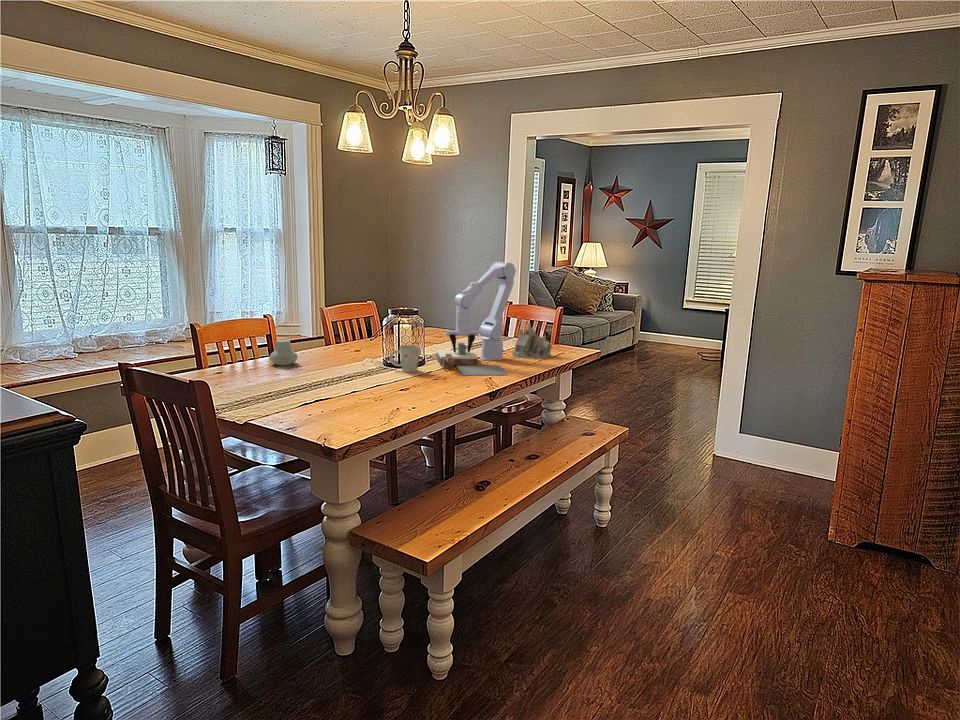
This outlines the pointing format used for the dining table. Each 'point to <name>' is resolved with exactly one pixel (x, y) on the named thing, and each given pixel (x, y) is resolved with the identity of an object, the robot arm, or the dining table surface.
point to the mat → (480, 370)
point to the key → (449, 358)
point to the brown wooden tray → (456, 362)
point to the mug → (407, 357)
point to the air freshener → (283, 353)
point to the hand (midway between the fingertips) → (461, 351)
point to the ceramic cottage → (531, 345)
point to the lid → (459, 353)
